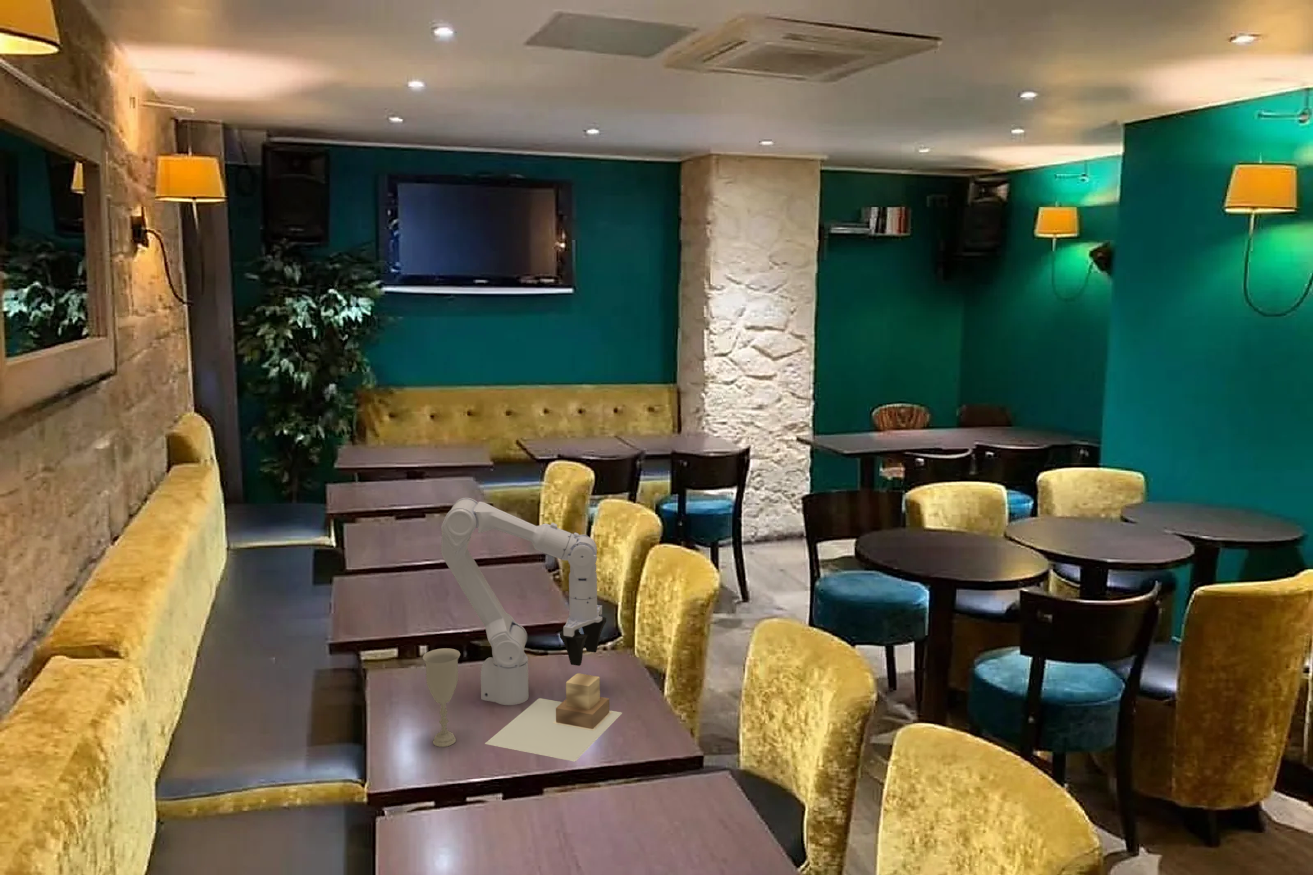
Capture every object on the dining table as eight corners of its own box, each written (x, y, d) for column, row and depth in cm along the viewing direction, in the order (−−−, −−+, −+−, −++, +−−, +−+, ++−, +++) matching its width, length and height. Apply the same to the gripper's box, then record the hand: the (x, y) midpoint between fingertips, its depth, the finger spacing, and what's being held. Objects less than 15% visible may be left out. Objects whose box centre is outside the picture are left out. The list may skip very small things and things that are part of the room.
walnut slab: (556, 722, 198) (555, 708, 198) (573, 706, 206) (573, 692, 205) (592, 729, 196) (592, 714, 195) (609, 712, 203) (609, 698, 202)
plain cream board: (484, 748, 190) (484, 743, 189) (539, 701, 210) (539, 697, 210) (575, 766, 183) (575, 761, 183) (622, 716, 203) (622, 712, 203)
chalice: (453, 756, 186) (450, 664, 183) (419, 752, 188) (416, 661, 185) (468, 738, 193) (466, 649, 190) (435, 735, 195) (432, 647, 192)
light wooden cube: (566, 706, 199) (565, 682, 198) (577, 696, 203) (577, 673, 202) (589, 710, 197) (588, 686, 196) (599, 700, 201) (599, 676, 201)
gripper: (585, 608, 199) (586, 673, 201) (615, 587, 212) (615, 648, 214) (553, 604, 201) (554, 668, 203) (584, 583, 214) (585, 644, 217)
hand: (583, 658), depth 209 cm, fingers open, 7 cm apart
